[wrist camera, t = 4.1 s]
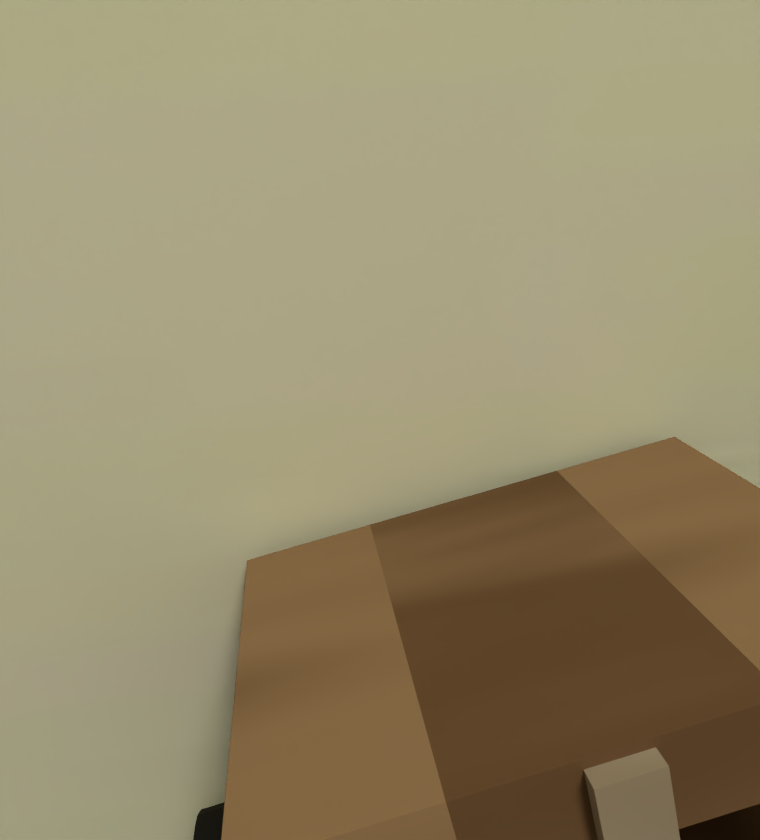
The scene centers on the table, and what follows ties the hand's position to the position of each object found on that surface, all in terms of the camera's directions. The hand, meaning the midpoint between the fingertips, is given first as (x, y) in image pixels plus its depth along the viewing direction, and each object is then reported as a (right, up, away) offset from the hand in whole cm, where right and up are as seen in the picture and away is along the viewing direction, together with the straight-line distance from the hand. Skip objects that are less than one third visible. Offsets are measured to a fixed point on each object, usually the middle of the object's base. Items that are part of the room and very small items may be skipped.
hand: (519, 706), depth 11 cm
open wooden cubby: (0, 0, +1) cm, 1 cm away
